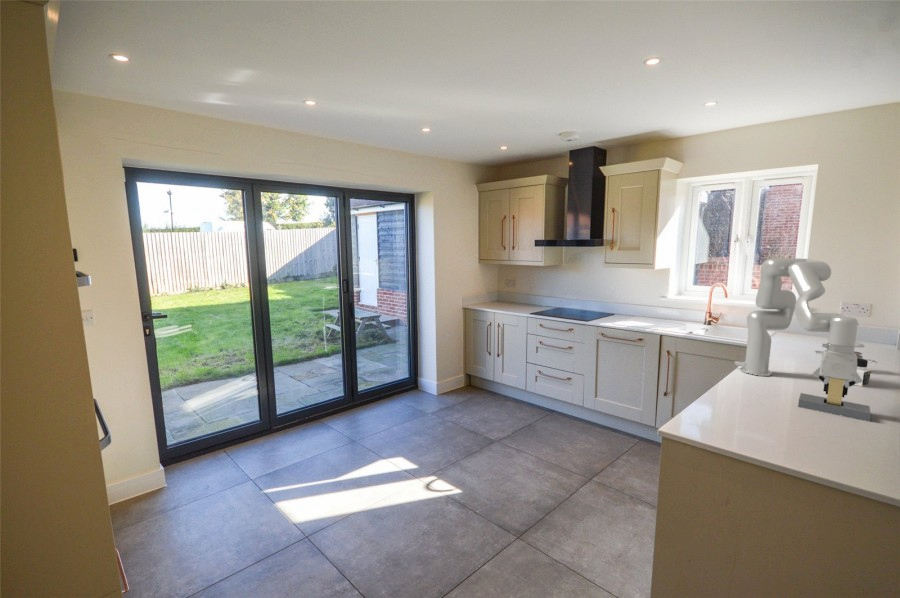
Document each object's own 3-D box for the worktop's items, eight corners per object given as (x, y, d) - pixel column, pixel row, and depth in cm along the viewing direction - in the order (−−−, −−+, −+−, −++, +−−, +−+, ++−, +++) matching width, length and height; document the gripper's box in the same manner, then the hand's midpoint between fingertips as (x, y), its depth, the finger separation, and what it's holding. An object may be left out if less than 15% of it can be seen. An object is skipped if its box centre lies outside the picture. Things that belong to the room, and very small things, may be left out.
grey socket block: (798, 406, 163) (798, 399, 163) (800, 399, 170) (800, 392, 170) (869, 421, 150) (870, 413, 149) (868, 413, 157) (869, 406, 156)
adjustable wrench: (875, 363, 227) (875, 359, 227) (872, 364, 224) (872, 361, 223) (816, 352, 248) (817, 349, 247) (813, 354, 244) (813, 351, 244)
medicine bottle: (862, 387, 186) (865, 361, 185) (841, 382, 193) (845, 357, 191) (868, 384, 190) (872, 359, 188) (848, 380, 196) (851, 355, 194)
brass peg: (826, 402, 159) (829, 377, 158) (827, 399, 162) (830, 375, 161) (840, 405, 157) (844, 380, 155) (840, 402, 160) (844, 377, 158)
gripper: (810, 346, 160) (805, 392, 162) (872, 354, 148) (865, 403, 151) (812, 343, 165) (806, 387, 168) (871, 350, 154) (865, 397, 156)
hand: (834, 394), depth 159 cm, fingers closed on brass peg, 4 cm apart
